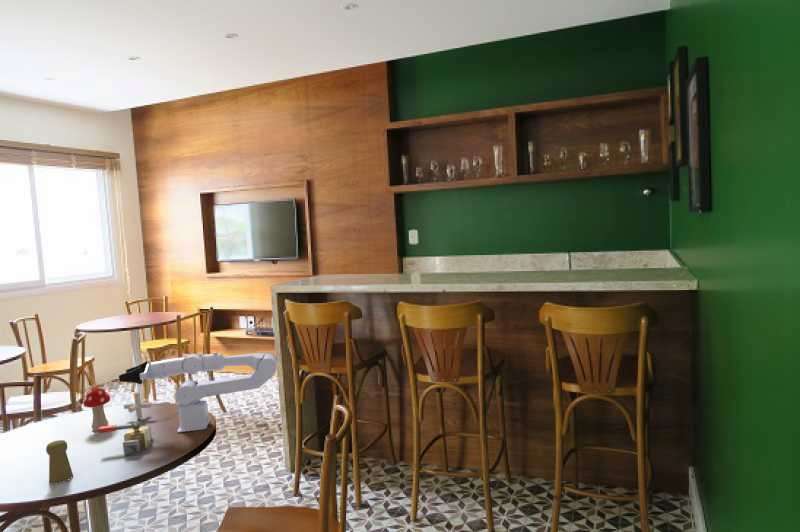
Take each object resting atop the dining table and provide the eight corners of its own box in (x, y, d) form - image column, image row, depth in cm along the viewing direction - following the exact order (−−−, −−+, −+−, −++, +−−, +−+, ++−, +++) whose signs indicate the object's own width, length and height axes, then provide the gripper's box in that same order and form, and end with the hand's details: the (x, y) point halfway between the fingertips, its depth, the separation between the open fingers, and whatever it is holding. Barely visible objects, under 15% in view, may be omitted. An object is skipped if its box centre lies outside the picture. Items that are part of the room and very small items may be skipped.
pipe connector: (159, 413, 216) (156, 387, 215) (145, 423, 206) (141, 396, 205) (134, 414, 217) (131, 389, 216) (119, 424, 207) (115, 397, 206)
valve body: (154, 437, 190) (152, 419, 190) (142, 454, 176) (139, 434, 176) (135, 440, 189) (133, 421, 189) (121, 456, 176) (119, 437, 175)
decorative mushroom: (112, 429, 202) (107, 388, 200) (85, 435, 198) (79, 393, 197) (114, 421, 211) (109, 381, 209) (88, 426, 207) (83, 386, 206)
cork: (55, 475, 165) (50, 439, 165) (77, 473, 166) (72, 436, 165) (44, 485, 159) (39, 447, 159) (67, 482, 160) (61, 444, 159)
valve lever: (141, 425, 184) (141, 421, 184) (139, 428, 181) (138, 424, 181) (101, 430, 182) (100, 426, 182) (98, 433, 179) (97, 429, 179)
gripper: (168, 352, 201) (127, 359, 199) (158, 361, 186) (114, 369, 184) (171, 372, 201) (131, 379, 199) (161, 382, 187) (118, 390, 185)
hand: (123, 375), depth 192 cm, fingers open, 7 cm apart
